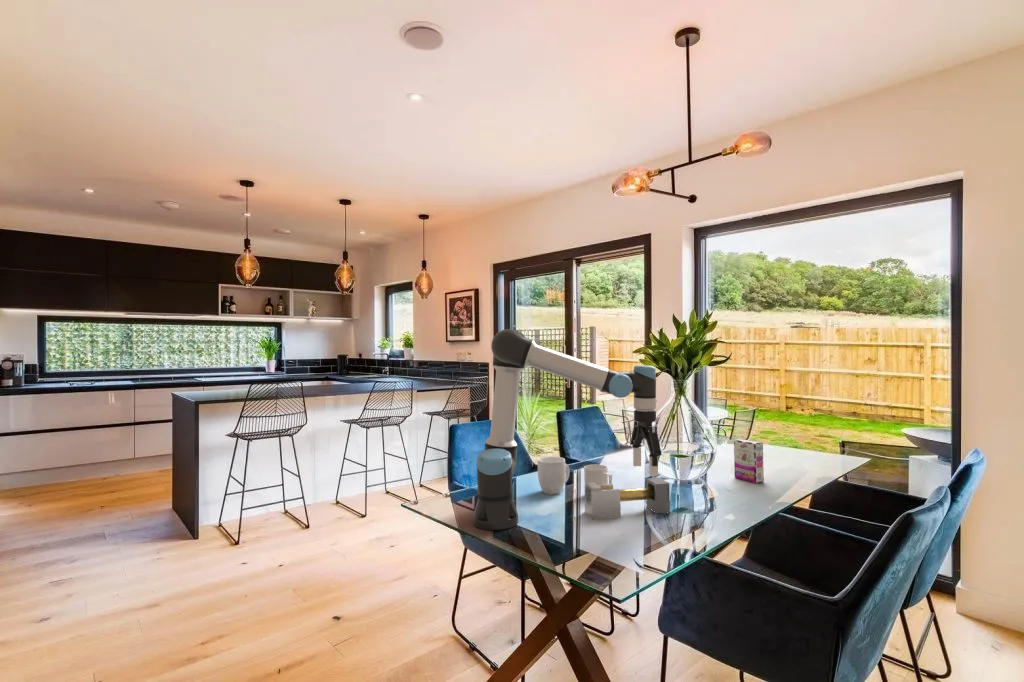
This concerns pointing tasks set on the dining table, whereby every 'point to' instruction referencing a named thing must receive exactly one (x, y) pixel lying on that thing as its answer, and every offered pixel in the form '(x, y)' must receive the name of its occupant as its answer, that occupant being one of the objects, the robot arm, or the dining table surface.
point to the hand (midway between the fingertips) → (645, 470)
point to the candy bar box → (748, 460)
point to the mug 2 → (597, 474)
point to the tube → (637, 494)
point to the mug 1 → (552, 474)
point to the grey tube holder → (602, 501)
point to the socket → (659, 495)
